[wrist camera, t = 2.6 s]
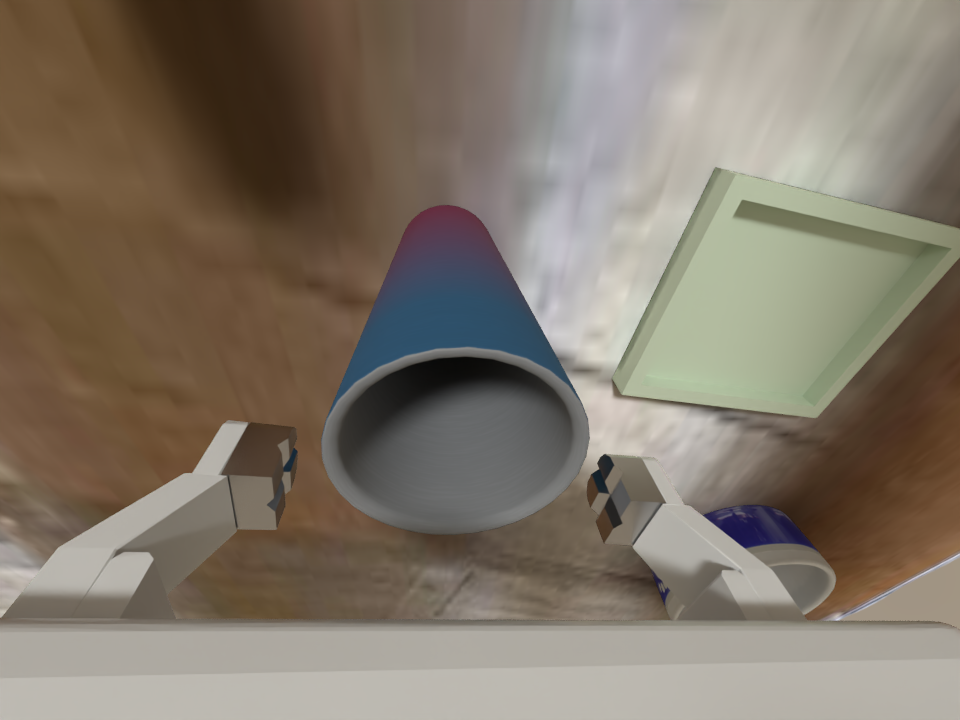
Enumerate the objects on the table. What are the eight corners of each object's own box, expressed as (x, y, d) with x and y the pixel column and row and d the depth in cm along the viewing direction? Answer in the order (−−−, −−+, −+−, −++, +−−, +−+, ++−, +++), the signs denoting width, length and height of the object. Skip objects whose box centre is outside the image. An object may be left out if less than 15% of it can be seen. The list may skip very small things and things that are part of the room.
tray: (715, 167, 21) (736, 174, 20) (947, 224, 25) (980, 234, 23) (612, 378, 29) (621, 394, 28) (799, 402, 32) (816, 418, 31)
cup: (488, 316, 25) (536, 543, 13) (376, 293, 24) (312, 525, 12) (524, 206, 22) (637, 377, 10) (395, 170, 20) (332, 318, 8)
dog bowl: (643, 525, 41) (672, 587, 36) (803, 486, 39) (856, 545, 34) (650, 594, 49) (674, 652, 44) (781, 565, 48) (821, 621, 43)
